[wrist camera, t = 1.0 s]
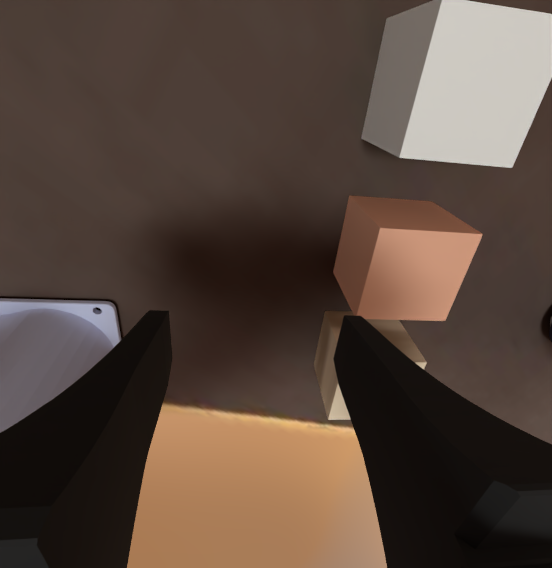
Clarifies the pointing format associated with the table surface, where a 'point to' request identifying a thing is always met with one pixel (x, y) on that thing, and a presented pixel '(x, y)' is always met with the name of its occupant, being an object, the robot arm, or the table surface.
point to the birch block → (327, 350)
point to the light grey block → (459, 82)
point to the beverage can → (551, 332)
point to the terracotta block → (402, 258)
